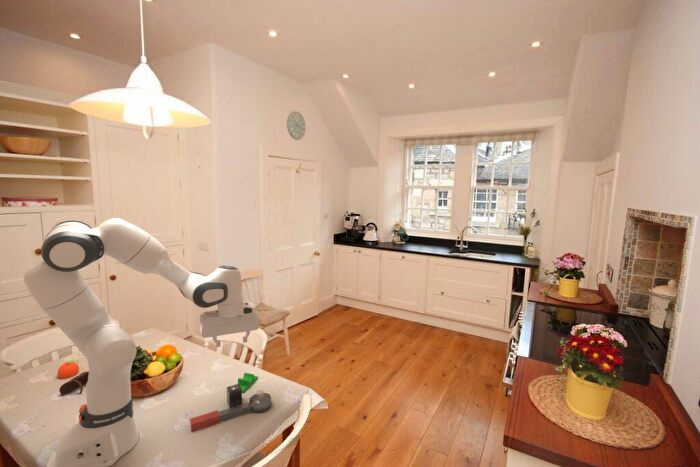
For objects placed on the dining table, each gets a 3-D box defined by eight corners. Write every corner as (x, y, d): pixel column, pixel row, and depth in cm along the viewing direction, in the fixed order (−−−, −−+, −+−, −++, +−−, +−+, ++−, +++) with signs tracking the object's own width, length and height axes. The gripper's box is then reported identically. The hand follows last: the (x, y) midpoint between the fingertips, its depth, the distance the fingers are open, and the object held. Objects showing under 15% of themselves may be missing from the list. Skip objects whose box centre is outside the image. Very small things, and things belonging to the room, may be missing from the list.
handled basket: (59, 399, 125) (57, 382, 125) (87, 382, 137) (86, 367, 136) (98, 405, 122) (97, 387, 122) (124, 387, 134) (123, 371, 133)
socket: (229, 408, 122) (229, 392, 121) (227, 401, 126) (226, 386, 125) (242, 404, 124) (241, 388, 124) (239, 397, 128) (239, 383, 127)
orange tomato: (73, 371, 144) (72, 356, 144) (86, 373, 143) (85, 358, 142) (53, 381, 137) (52, 365, 136) (67, 383, 135) (65, 367, 135)
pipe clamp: (243, 384, 131) (233, 382, 132) (243, 393, 131) (233, 391, 132) (257, 370, 141) (248, 369, 143) (257, 378, 142) (248, 377, 143)
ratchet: (192, 436, 107) (191, 419, 107) (189, 421, 114) (188, 405, 113) (274, 408, 122) (273, 393, 121) (267, 397, 129) (267, 383, 128)
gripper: (199, 315, 113) (201, 353, 115) (259, 307, 121) (260, 342, 122) (199, 309, 119) (202, 345, 120) (257, 302, 126) (258, 336, 128)
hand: (232, 344), depth 121 cm, fingers open, 8 cm apart
